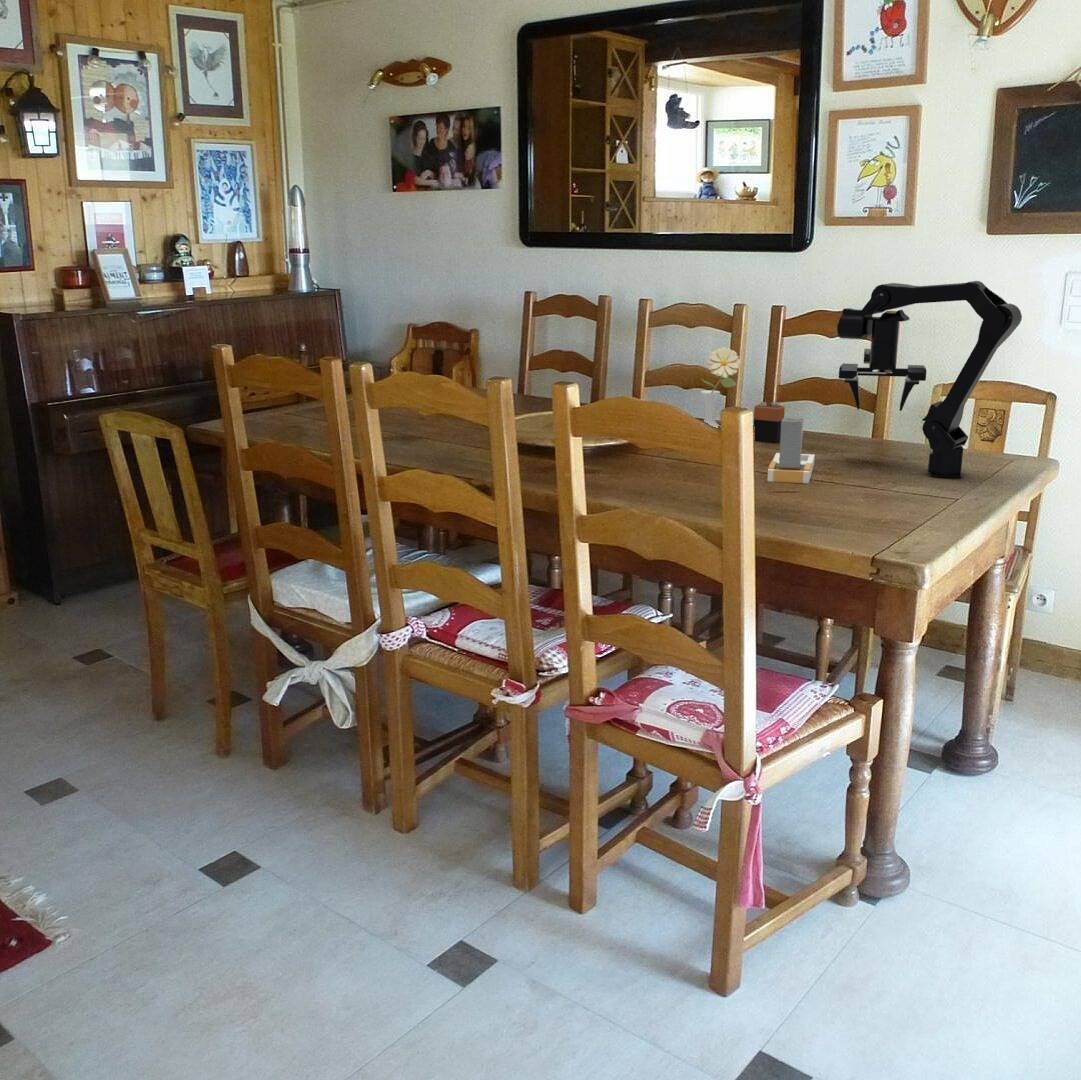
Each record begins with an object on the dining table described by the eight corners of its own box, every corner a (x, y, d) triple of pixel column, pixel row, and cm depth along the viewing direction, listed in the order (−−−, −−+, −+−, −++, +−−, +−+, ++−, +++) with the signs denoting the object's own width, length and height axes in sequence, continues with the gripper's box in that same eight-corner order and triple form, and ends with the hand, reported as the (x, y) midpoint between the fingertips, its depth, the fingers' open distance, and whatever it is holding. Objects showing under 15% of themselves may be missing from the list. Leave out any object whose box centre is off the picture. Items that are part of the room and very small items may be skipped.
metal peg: (800, 476, 239) (803, 418, 236) (798, 480, 235) (802, 422, 232) (780, 475, 241) (782, 417, 237) (778, 479, 237) (781, 421, 233)
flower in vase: (681, 448, 270) (683, 348, 263) (692, 440, 280) (694, 343, 273) (732, 452, 265) (736, 350, 258) (742, 443, 275) (745, 345, 268)
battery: (776, 443, 274) (778, 404, 272) (752, 440, 278) (753, 402, 276) (783, 440, 278) (785, 402, 275) (759, 437, 282) (761, 400, 279)
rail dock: (814, 465, 250) (814, 452, 249) (808, 483, 233) (809, 470, 232) (775, 463, 252) (776, 451, 252) (767, 481, 235) (767, 468, 234)
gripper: (927, 337, 245) (921, 405, 249) (842, 336, 250) (838, 402, 255) (929, 343, 235) (922, 413, 239) (840, 341, 240) (836, 410, 244)
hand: (879, 409), depth 245 cm, fingers open, 9 cm apart
